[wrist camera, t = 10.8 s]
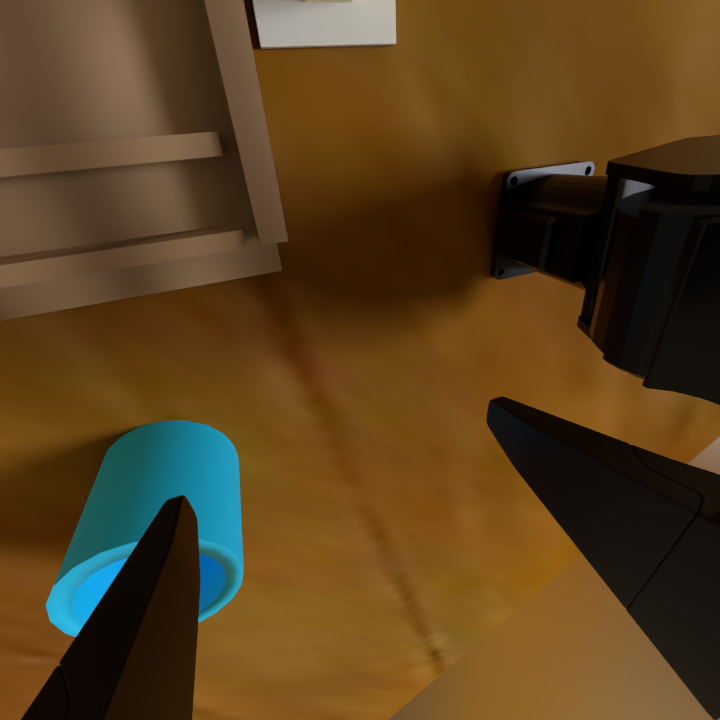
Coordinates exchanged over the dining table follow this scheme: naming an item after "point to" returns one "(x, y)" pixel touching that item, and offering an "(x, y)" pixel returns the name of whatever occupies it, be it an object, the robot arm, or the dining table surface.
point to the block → (328, 0)
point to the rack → (130, 152)
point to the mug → (140, 506)
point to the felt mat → (324, 23)
